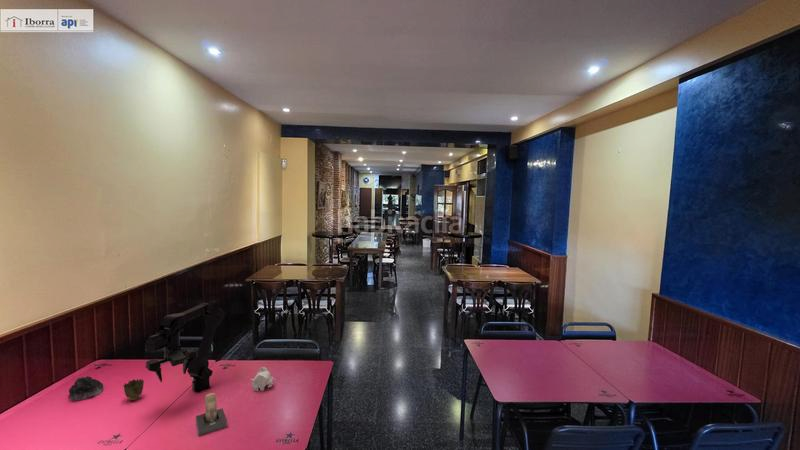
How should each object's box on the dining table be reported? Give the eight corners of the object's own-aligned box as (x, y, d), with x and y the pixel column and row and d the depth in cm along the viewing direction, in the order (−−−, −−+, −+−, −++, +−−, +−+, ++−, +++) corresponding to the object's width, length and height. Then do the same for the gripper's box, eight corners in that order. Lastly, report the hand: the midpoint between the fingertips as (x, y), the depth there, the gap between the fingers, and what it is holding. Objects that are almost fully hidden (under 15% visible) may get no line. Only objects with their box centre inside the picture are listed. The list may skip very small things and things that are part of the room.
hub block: (196, 422, 146) (195, 415, 145) (222, 414, 151) (222, 407, 151) (198, 436, 137) (198, 428, 137) (226, 427, 143) (226, 419, 143)
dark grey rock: (90, 386, 174) (86, 367, 172) (113, 387, 171) (109, 368, 170) (60, 403, 160) (55, 383, 159) (84, 404, 158) (80, 384, 157)
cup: (133, 405, 157) (132, 387, 157) (119, 402, 159) (119, 385, 158) (148, 396, 165) (147, 379, 164) (135, 394, 166) (134, 377, 166)
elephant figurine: (273, 392, 170) (273, 374, 169) (247, 394, 168) (247, 376, 167) (277, 382, 179) (277, 365, 179) (252, 384, 177) (252, 367, 177)
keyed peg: (205, 424, 145) (204, 395, 144) (215, 420, 147) (215, 392, 146) (206, 430, 141) (206, 400, 140) (217, 427, 143) (217, 397, 142)
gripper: (153, 355, 143) (154, 392, 144) (202, 342, 158) (202, 375, 159) (144, 348, 150) (145, 383, 151) (192, 336, 165) (192, 368, 166)
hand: (172, 377), depth 156 cm, fingers open, 9 cm apart
